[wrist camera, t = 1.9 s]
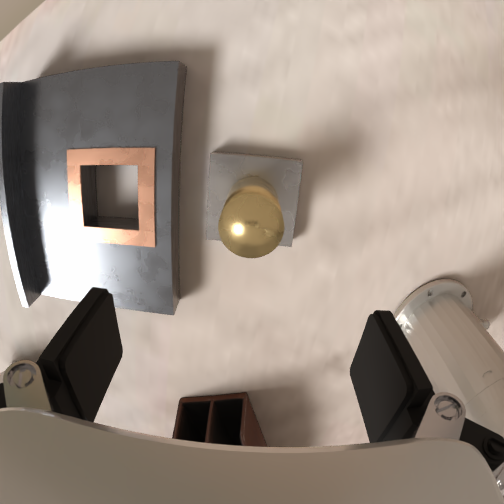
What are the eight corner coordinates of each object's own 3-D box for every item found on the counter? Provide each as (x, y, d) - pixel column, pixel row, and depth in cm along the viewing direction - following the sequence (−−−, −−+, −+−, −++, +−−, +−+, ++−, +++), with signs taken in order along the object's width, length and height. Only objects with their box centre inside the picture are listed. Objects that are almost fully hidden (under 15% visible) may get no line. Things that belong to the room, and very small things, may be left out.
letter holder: (218, 459, 49) (212, 523, 36) (179, 396, 41) (160, 479, 28) (271, 455, 48) (273, 522, 35) (247, 390, 40) (243, 480, 27)
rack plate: (186, 66, 24) (169, 54, 19) (179, 299, 34) (166, 333, 29) (32, 84, 24) (-3, 84, 18) (47, 281, 34) (22, 306, 28)
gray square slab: (300, 159, 28) (302, 161, 26) (290, 240, 31) (291, 246, 30) (212, 151, 28) (210, 153, 26) (208, 233, 31) (206, 239, 29)
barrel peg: (280, 179, 27) (288, 199, 21) (275, 227, 29) (280, 260, 22) (229, 174, 27) (219, 193, 21) (225, 223, 29) (216, 255, 22)
